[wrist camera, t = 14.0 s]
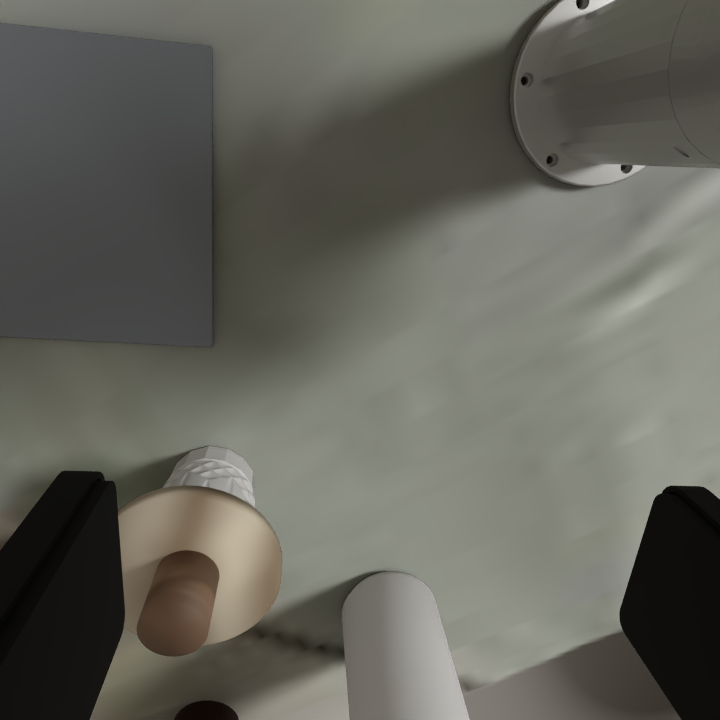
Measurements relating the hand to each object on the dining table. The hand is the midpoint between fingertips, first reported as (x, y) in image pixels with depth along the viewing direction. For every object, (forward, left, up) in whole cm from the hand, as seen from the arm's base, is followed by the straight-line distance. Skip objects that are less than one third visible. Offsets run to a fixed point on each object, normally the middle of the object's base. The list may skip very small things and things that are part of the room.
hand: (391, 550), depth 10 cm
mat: (+18, -2, -33) cm, 38 cm away
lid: (+8, +20, -23) cm, 32 cm away
